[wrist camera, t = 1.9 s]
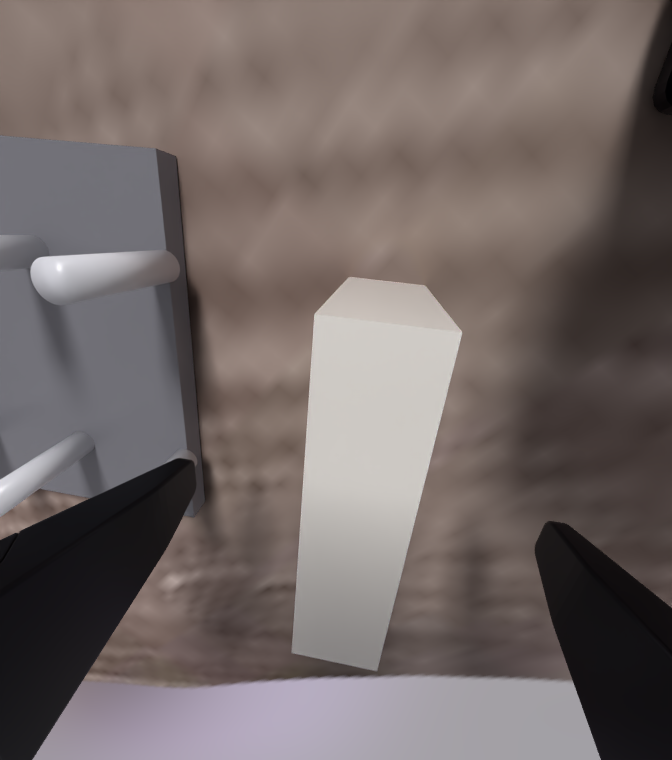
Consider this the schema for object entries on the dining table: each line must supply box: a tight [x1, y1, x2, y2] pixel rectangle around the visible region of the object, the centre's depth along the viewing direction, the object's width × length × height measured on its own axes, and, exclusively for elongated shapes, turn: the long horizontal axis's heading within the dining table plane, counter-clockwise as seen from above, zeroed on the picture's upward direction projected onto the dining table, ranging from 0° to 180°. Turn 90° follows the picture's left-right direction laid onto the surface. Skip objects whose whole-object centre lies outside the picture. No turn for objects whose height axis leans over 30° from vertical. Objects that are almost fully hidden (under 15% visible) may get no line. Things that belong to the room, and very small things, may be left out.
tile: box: [292, 277, 462, 671], centre depth 10 cm, size 2×10×6 cm, turn 174°
